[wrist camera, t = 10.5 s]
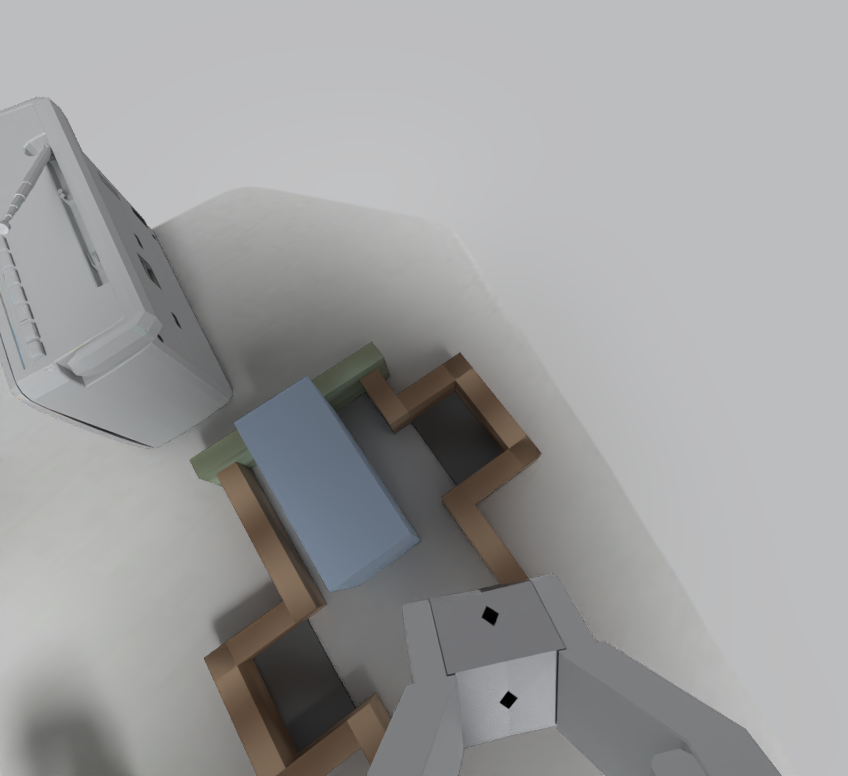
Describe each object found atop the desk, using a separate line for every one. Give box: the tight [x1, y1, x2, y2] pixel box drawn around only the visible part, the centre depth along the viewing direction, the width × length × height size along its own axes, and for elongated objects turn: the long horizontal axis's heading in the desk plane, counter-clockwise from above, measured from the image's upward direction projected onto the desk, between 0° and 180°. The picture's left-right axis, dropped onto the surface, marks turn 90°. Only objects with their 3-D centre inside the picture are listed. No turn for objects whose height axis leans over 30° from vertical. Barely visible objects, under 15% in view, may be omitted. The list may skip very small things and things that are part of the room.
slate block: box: [234, 376, 421, 592], centre depth 30 cm, size 11×5×8 cm, turn 35°
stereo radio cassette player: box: [0, 97, 233, 449], centre depth 31 cm, size 21×8×20 cm, turn 31°
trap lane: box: [190, 342, 542, 776], centre depth 31 cm, size 26×24×4 cm
